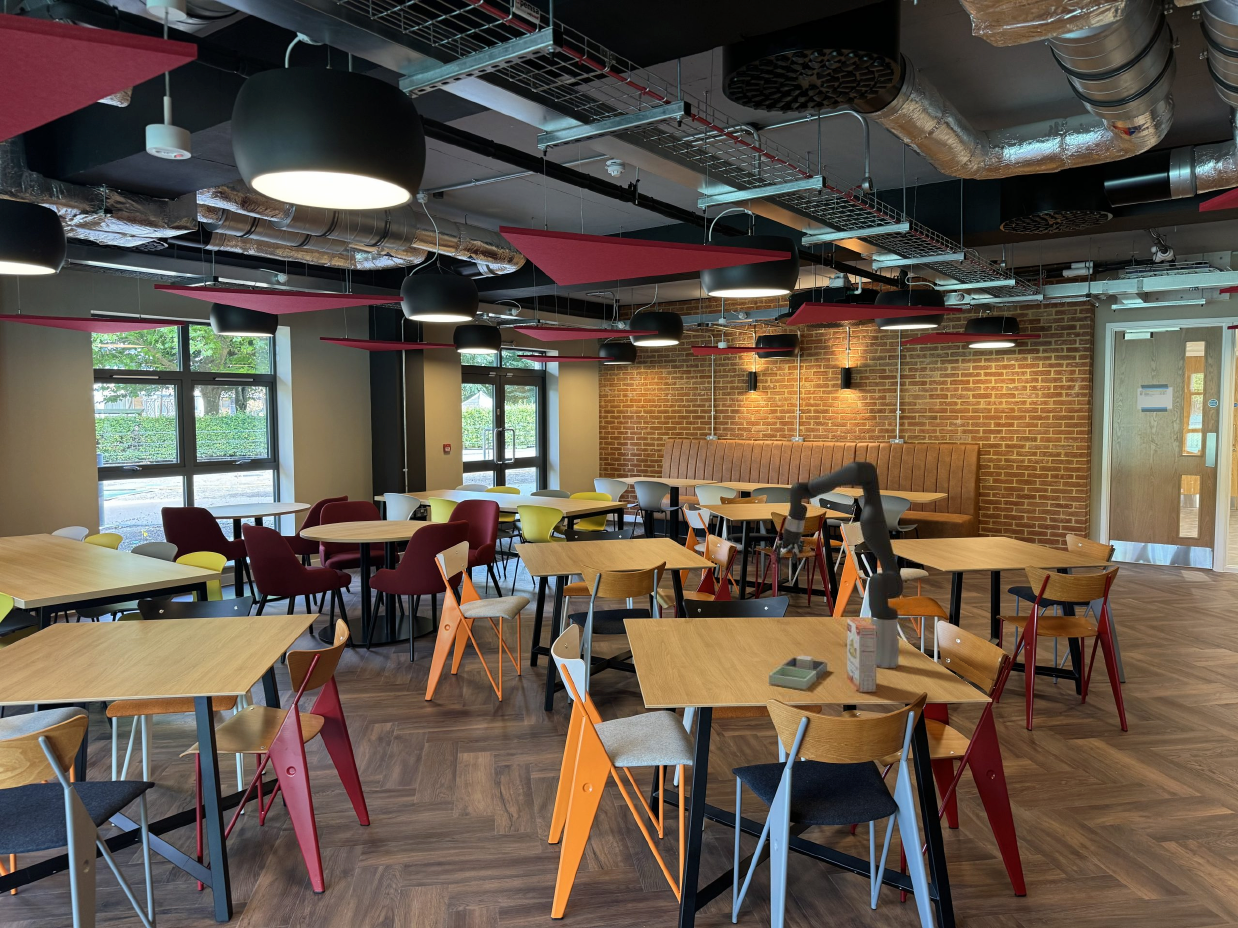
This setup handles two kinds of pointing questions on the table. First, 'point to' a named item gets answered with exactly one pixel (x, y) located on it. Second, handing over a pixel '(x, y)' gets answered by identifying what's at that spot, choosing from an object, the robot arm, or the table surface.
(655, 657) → the table surface
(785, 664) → the bin
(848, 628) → the cracker box
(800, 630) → the table surface
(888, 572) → the robot arm
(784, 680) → the bin
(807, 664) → the light grey block
